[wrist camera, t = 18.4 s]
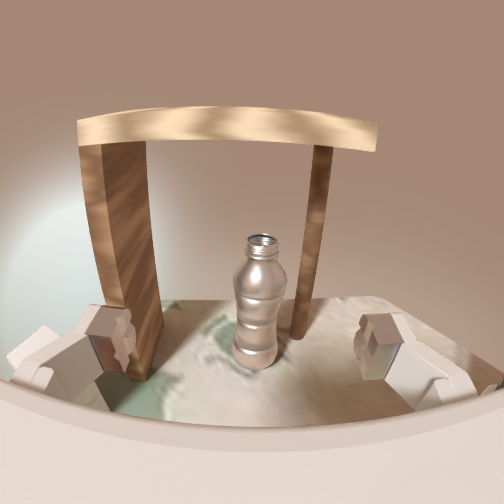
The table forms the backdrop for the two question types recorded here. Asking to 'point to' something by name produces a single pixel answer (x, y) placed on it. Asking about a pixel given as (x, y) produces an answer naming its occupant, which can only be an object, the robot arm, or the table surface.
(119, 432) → the robot arm
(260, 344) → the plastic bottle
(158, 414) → the table surface
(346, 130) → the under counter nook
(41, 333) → the supplement box
